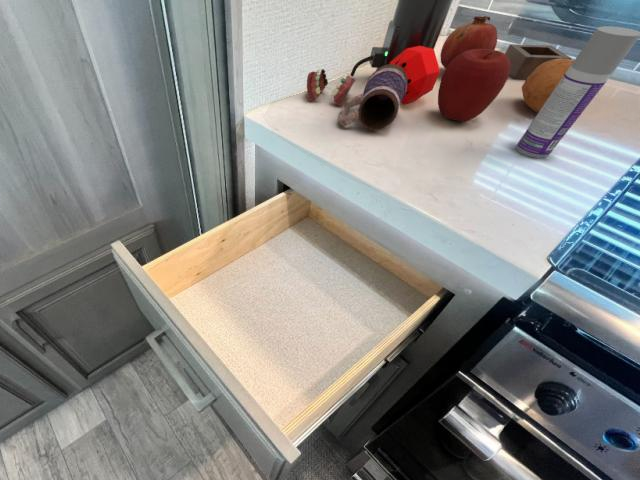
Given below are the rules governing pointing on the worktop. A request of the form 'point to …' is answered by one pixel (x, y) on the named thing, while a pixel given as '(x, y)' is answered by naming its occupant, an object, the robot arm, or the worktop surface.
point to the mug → (377, 99)
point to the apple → (472, 83)
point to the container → (577, 89)
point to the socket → (530, 58)
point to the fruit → (469, 39)
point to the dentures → (319, 81)
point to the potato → (544, 82)
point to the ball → (418, 71)
